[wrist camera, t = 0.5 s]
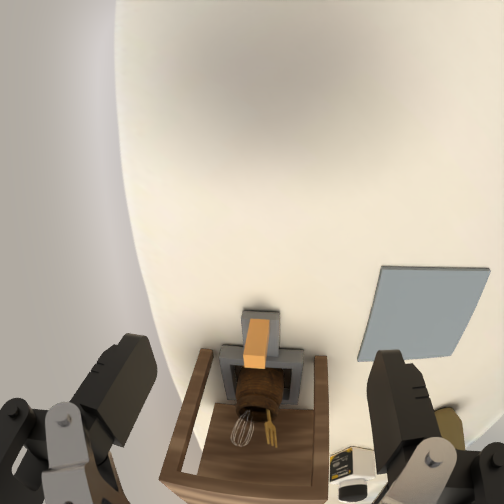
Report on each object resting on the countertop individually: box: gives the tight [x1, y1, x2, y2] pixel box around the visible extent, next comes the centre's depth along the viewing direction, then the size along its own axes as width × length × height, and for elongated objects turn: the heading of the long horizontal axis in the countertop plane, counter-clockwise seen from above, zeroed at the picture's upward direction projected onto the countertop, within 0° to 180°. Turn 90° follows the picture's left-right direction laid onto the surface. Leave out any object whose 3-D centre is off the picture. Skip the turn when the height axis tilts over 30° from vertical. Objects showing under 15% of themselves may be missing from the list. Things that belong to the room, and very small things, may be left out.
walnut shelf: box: [159, 349, 329, 504], centre depth 32 cm, size 16×16×18 cm
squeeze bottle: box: [434, 408, 465, 450], centre depth 34 cm, size 8×8×18 cm
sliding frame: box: [219, 311, 304, 405], centre depth 34 cm, size 16×10×6 cm, turn 3°
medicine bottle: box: [330, 447, 376, 503], centre depth 47 cm, size 7×7×12 cm
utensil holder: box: [231, 366, 284, 448], centre depth 33 cm, size 6×6×12 cm
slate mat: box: [357, 267, 491, 362], centre depth 30 cm, size 14×14×1 cm
